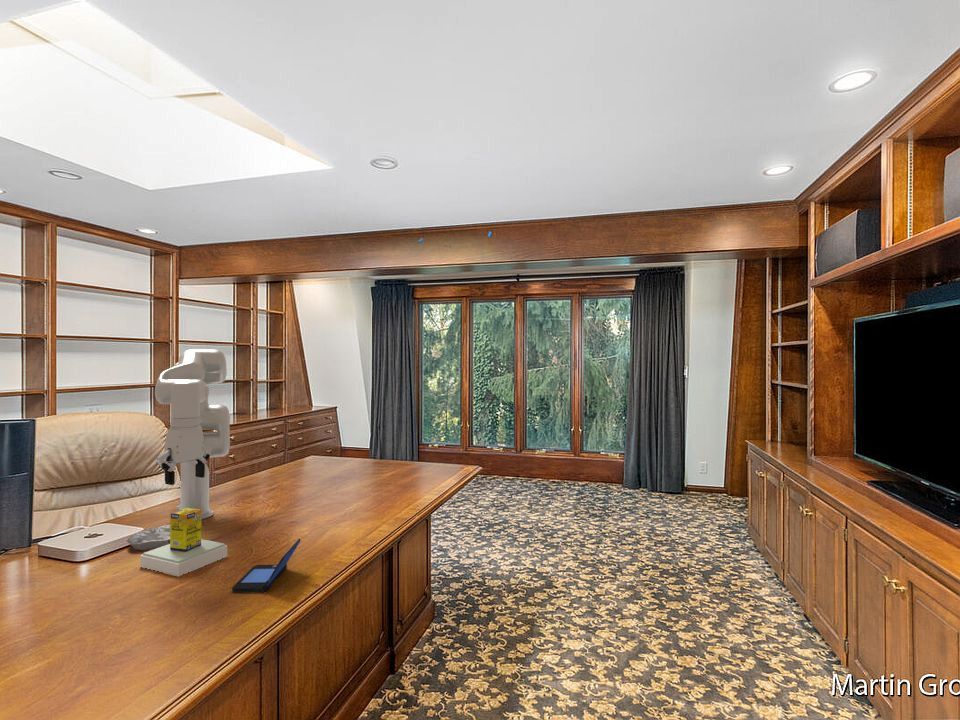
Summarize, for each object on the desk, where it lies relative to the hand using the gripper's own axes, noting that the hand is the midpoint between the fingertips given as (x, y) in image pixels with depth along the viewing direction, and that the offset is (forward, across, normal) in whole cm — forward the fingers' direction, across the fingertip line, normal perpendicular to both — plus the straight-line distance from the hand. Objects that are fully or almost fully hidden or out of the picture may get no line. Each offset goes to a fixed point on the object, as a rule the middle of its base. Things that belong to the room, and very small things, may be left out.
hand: (185, 480), depth 154 cm
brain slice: (+25, -8, -22) cm, 35 cm away
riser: (+24, 0, 0) cm, 24 cm away
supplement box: (+20, 0, 0) cm, 20 cm away
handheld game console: (+24, 0, +33) cm, 41 cm away
